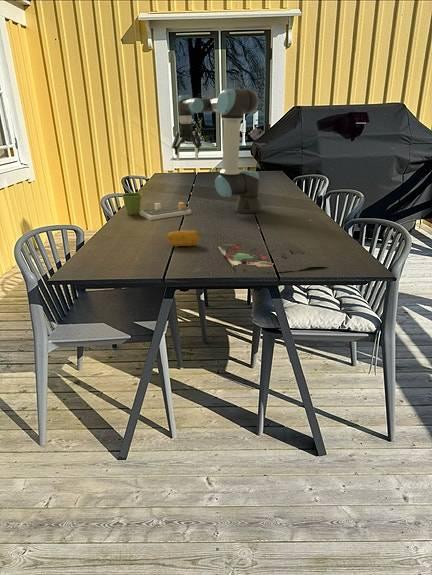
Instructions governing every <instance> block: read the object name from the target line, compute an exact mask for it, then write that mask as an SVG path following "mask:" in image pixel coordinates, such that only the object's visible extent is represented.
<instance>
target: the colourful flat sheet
mask: <svg viewBox="0 0 432 575" xmlns="http://www.w3.org/2000/svg"><path fill="white" fill-rule="evenodd" d="M242 245H243V244H237V243H227V244H226V243H225V244H217V247H218V249H219V251H220V253H221V254H222V255H223V256H224V257H225V258H226V259H227V260H228V261H229V263H230V265H231V266H232V267H233V265H238V264H246V265H256V266H258V267H272V266H273V265H274V263H271V262H267V261H259V260H257V261H258V262H248V261H244V260H247V259H251V258H255V257H253V256H255V255H254V254H253V253H251V255H252V254H253V256H250V255H249V254H245V253H235V255H230V254H227V252H229V251H232V250H239V249H241V246H242ZM262 255H263V254H262ZM262 255H261V254H260V256H262ZM261 258H262V259H267V258H268V257H266V256H262V257H261Z"/></svg>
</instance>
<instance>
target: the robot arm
mask: <svg viewBox="0 0 432 575" xmlns="http://www.w3.org/2000/svg"><path fill="white" fill-rule="evenodd" d="M177 104H178V114H179V123H180V124H179V130H180V131H179V132H178V131H175V136H174V138H173V143H172V145H171V148H172V149H174V154H175V156H176V161H180V149H179V147H180V146H181V144H182V143H183V141H184V140H190V141H191V143H192V144H193V145H194V158H195V159H197V160H198V159H199V154H200V148H201V147H202V146H203V144H202V143H201V140H200V139H199V137H198V136H199V135H198V131H195V130H194V131H193V124H192V122H193V121H192V120H193V118H192V117H193V116H192V113H193V114H198V113H217V112H218V114H220V118H221V120H222V122H223V142H222V143H223V144H222V168H221V169H220V170H219V175H218V176H217V177H216V178H215V180H214V186H215V189H216V192H217V193H218V194H219V196H220V197H223V198H225V197H229V198H230V197H234V196H238V199H237V203H236V206H235V212H236V213H238V214H239V213H240V214H247V215H248V214H258V213H261V212H262V205H261V202H260V198H259V196H260V193H259V192H260V174H259V172H258V171H254V170H245V169H239V159H240V157H239V154H240V135H241V134H240V133H241V122H242V120H243V119H244V115H246V114H251V113H253V112H254V111H255V110H256V109H257V107H258V105H259V97H258V96H257V93H256V92H255V91H254V90H252V89H247V88H243V89H242V88H227V89H223V90H222V91H221V92H220V93H219V94H218V97H214V98H213V97H212V98H209V97H208V98H198V97H193V98H191V95H190V94H189V95H187V94H185V95H183V94H182V95H179V96H178V102H177Z"/></svg>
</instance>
